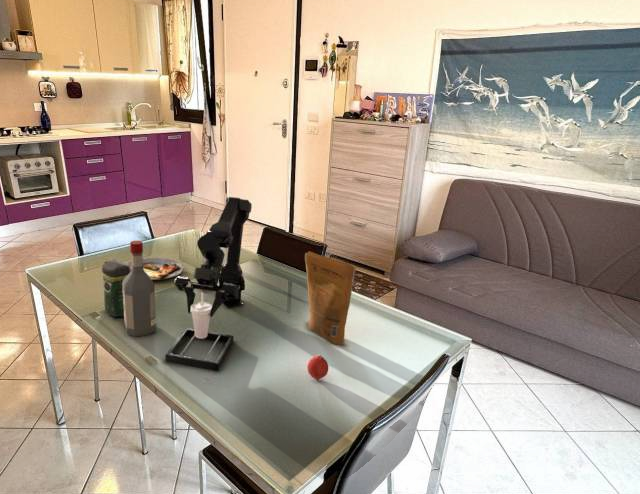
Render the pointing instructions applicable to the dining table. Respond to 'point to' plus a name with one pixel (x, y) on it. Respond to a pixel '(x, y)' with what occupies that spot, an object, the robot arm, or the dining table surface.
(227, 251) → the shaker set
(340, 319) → the pancake mix bag
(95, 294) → the dining table surface
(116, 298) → the coffee jar
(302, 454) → the dining table surface
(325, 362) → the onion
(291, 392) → the dining table surface
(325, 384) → the dining table surface
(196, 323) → the smoothie
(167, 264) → the food plate
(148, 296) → the liquor
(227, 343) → the divided serving tray
